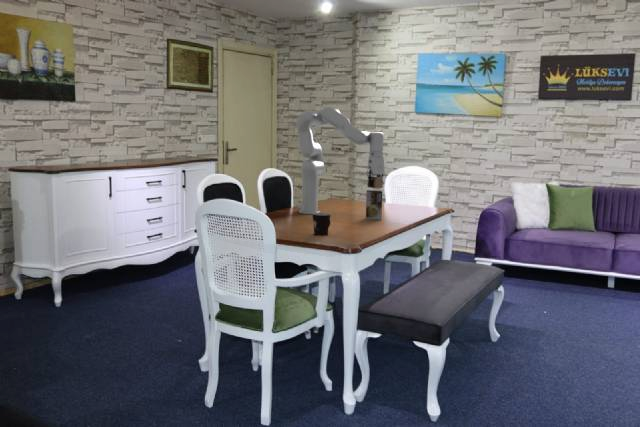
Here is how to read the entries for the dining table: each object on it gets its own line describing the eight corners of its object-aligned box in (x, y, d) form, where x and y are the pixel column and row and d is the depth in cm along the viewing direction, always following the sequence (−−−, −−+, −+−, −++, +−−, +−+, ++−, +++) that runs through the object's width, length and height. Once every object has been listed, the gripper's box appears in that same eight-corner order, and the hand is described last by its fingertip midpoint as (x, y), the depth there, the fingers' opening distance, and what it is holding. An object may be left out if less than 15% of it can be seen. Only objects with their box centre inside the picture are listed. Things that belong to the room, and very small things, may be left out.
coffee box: (381, 218, 343) (382, 190, 341) (381, 220, 337) (382, 191, 334) (365, 217, 344) (366, 189, 342) (365, 219, 338) (366, 191, 335)
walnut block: (367, 187, 338) (367, 176, 337) (374, 186, 342) (374, 176, 341) (375, 188, 333) (376, 177, 333) (382, 187, 338) (382, 177, 337)
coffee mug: (311, 232, 290) (311, 212, 289) (328, 233, 291) (329, 212, 289) (313, 237, 279) (313, 216, 277) (331, 237, 279) (332, 216, 278)
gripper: (371, 154, 326) (370, 187, 329) (390, 154, 338) (389, 186, 341) (361, 154, 331) (359, 186, 334) (380, 153, 344) (379, 184, 346)
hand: (374, 185), depth 338 cm, fingers closed on walnut block, 6 cm apart
